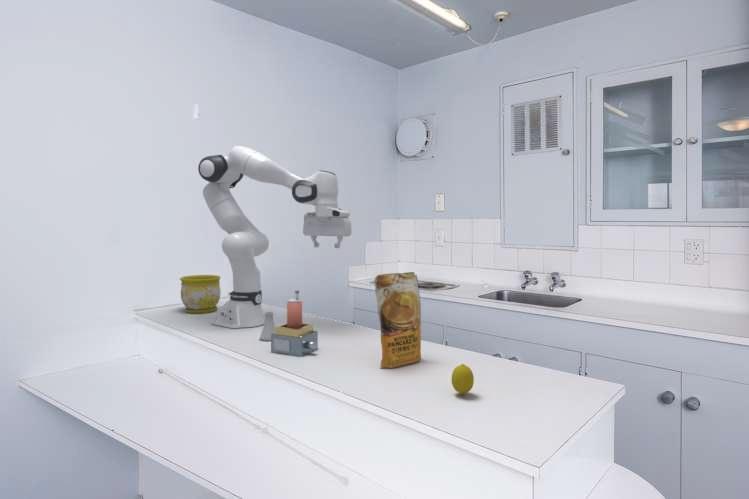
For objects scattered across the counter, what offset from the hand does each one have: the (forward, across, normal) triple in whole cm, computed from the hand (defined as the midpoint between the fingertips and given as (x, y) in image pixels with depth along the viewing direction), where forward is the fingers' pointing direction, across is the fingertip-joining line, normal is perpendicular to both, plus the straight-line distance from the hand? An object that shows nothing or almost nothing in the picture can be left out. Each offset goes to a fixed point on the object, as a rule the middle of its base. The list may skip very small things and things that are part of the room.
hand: (326, 247), depth 185 cm
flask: (+33, -13, -20) cm, 41 cm away
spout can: (+27, +4, -29) cm, 40 cm away
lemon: (+33, +65, -45) cm, 86 cm away
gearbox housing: (+33, +6, -29) cm, 44 cm away
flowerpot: (+33, -74, +9) cm, 82 cm away
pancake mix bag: (+33, +41, -27) cm, 59 cm away
